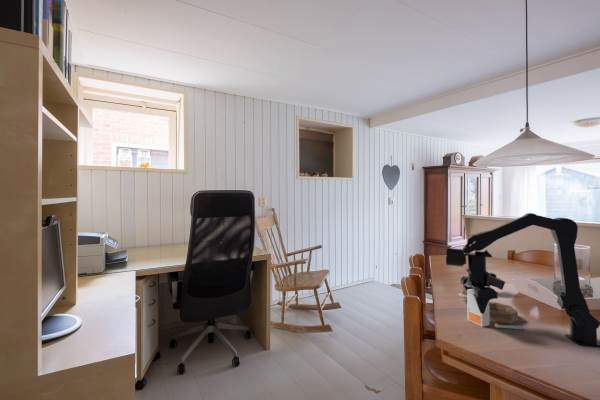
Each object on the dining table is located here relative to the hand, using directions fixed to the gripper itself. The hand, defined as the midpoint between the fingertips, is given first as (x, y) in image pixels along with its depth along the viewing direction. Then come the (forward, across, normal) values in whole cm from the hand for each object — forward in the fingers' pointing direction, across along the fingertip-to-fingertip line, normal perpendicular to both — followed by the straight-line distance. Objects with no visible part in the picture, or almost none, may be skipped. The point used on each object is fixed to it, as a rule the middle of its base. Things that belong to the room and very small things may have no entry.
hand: (478, 309), depth 105 cm
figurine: (+5, +39, -16) cm, 42 cm away
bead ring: (+5, +8, -9) cm, 13 cm away
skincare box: (+5, 0, 0) cm, 5 cm away
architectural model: (+6, +24, -5) cm, 25 cm away
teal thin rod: (+5, -3, -9) cm, 11 cm away
